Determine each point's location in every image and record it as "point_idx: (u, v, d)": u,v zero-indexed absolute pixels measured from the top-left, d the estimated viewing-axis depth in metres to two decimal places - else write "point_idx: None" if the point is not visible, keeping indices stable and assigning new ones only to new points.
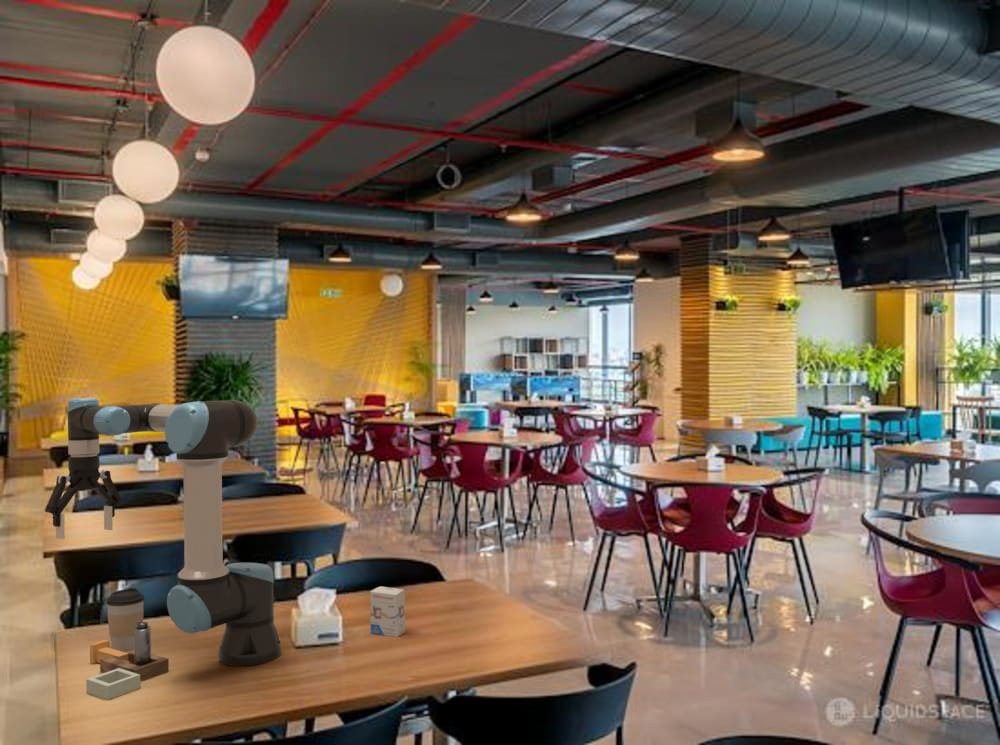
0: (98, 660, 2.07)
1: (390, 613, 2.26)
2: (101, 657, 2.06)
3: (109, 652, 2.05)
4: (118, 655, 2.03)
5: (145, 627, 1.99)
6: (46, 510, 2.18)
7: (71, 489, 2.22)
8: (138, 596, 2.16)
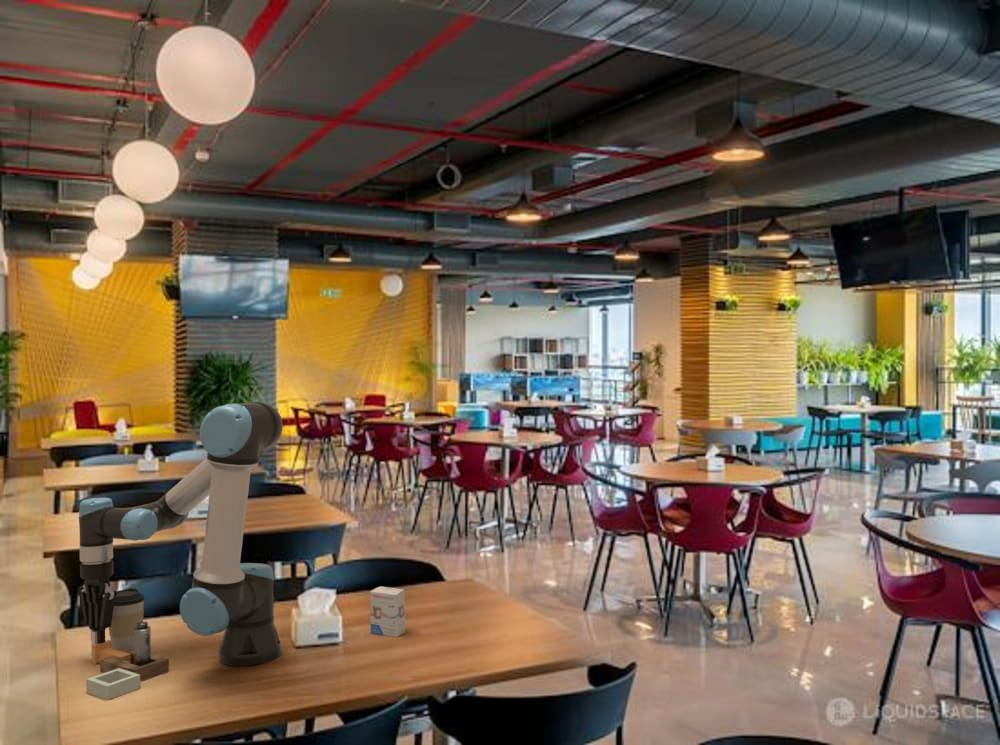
0: None
1: (390, 613, 2.26)
2: (103, 658, 2.05)
3: (111, 653, 2.05)
4: (120, 656, 2.03)
5: (145, 627, 1.99)
6: None
7: None
8: (138, 596, 2.16)
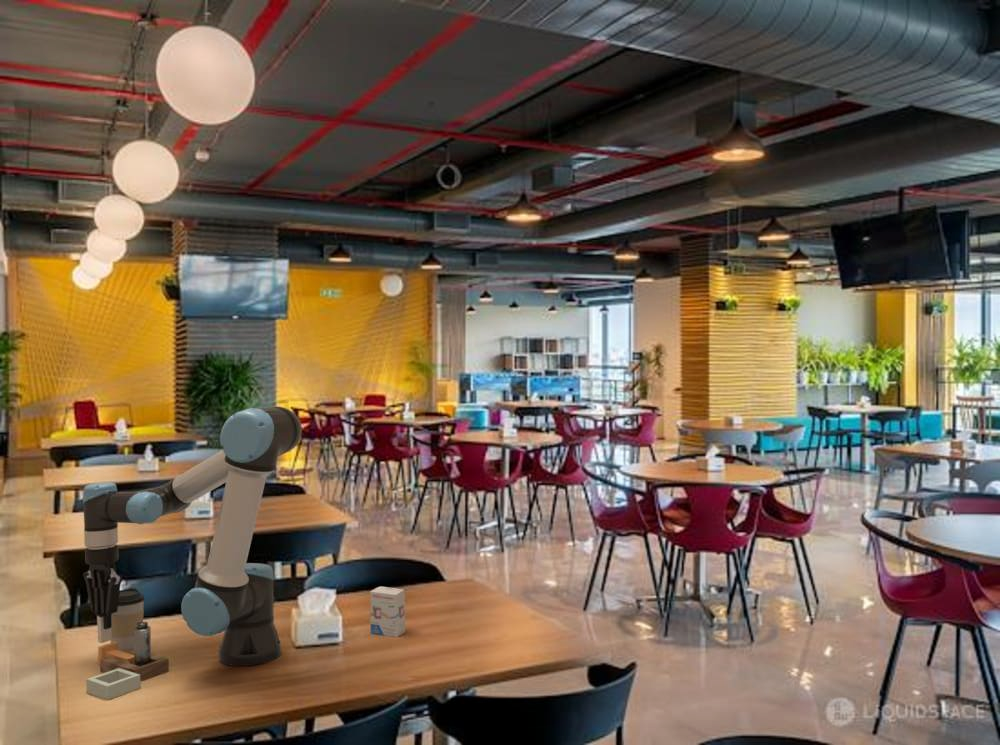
0: None
1: (390, 613, 2.26)
2: None
3: (118, 655, 2.03)
4: (127, 658, 2.01)
5: (145, 627, 1.99)
6: None
7: None
8: (138, 596, 2.16)
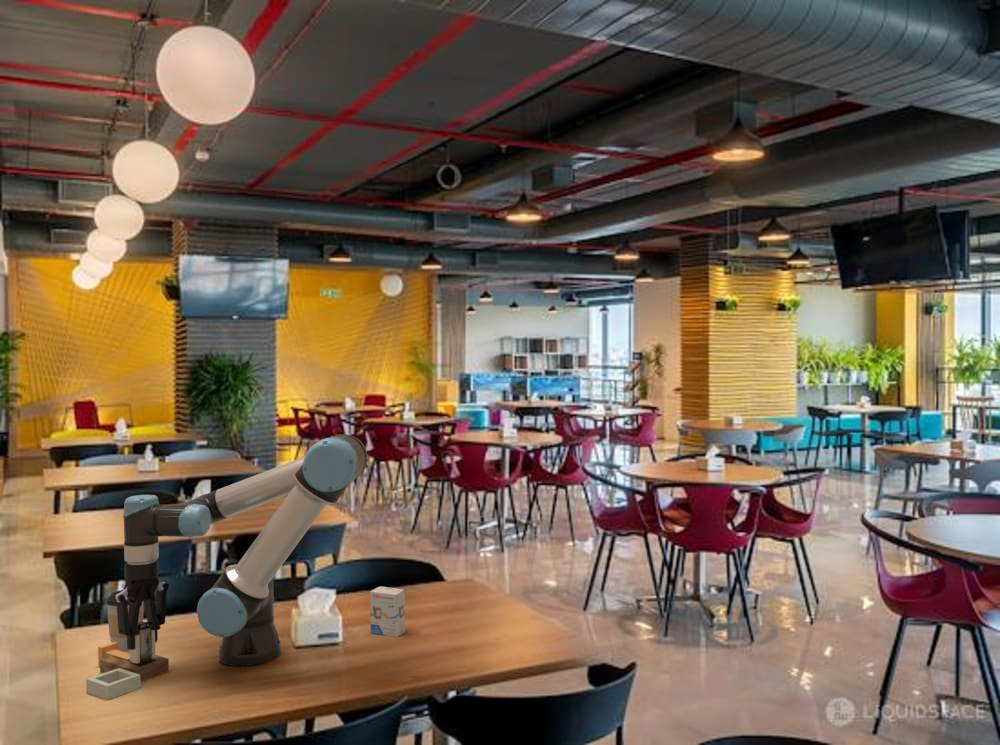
0: None
1: (390, 613, 2.26)
2: None
3: (118, 655, 2.03)
4: (127, 658, 2.01)
5: (145, 627, 1.99)
6: (120, 632, 1.95)
7: (134, 604, 1.97)
8: None
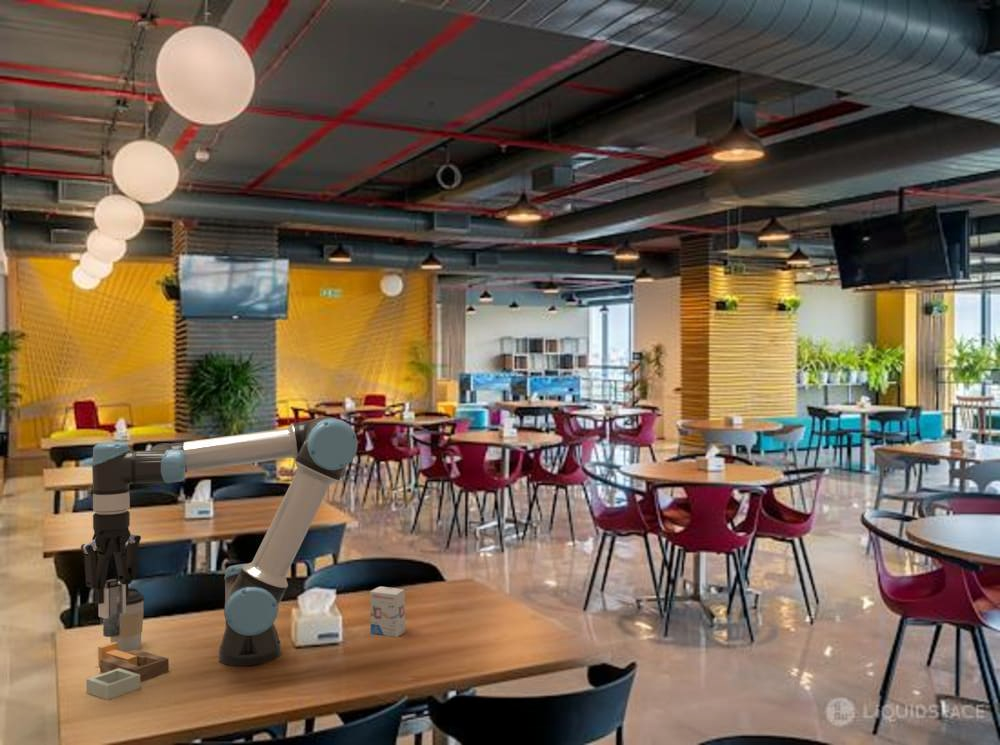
0: None
1: (390, 613, 2.26)
2: None
3: (118, 655, 2.03)
4: (127, 658, 2.01)
5: (115, 585, 1.89)
6: (88, 585, 1.85)
7: (103, 556, 1.87)
8: (138, 596, 2.16)
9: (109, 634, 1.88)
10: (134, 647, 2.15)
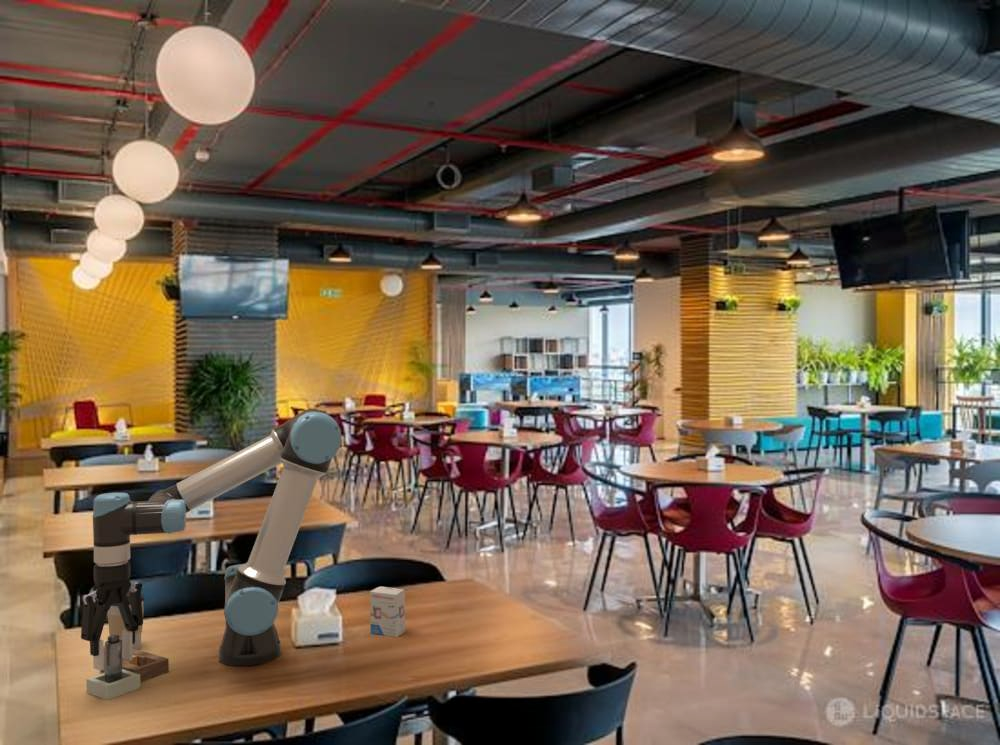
0: None
1: (390, 613, 2.26)
2: None
3: None
4: None
5: (116, 641, 1.89)
6: (82, 637, 1.84)
7: (102, 607, 1.87)
8: None
9: None
10: (134, 647, 2.15)
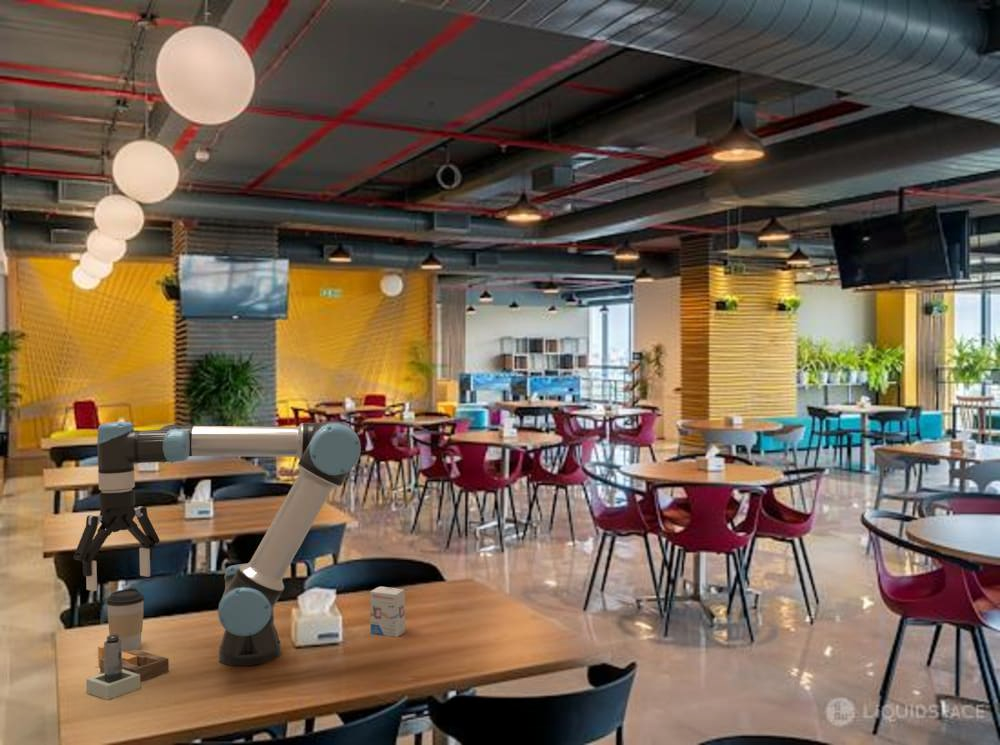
0: None
1: (390, 613, 2.26)
2: None
3: None
4: (127, 658, 2.01)
5: (116, 641, 1.89)
6: (75, 557, 1.83)
7: (103, 531, 1.88)
8: (138, 596, 2.16)
9: None
10: (134, 647, 2.15)
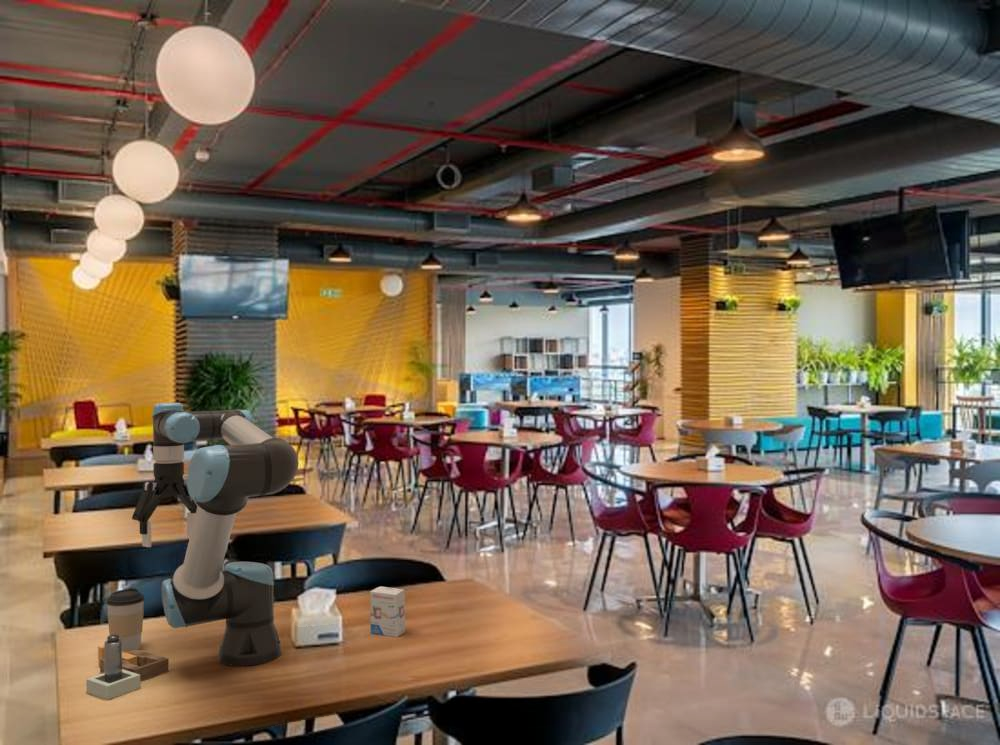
0: None
1: (390, 613, 2.26)
2: None
3: None
4: (127, 658, 2.01)
5: (116, 640, 1.89)
6: (133, 517, 2.13)
7: (157, 496, 2.18)
8: (138, 596, 2.16)
9: None
10: (134, 647, 2.15)
